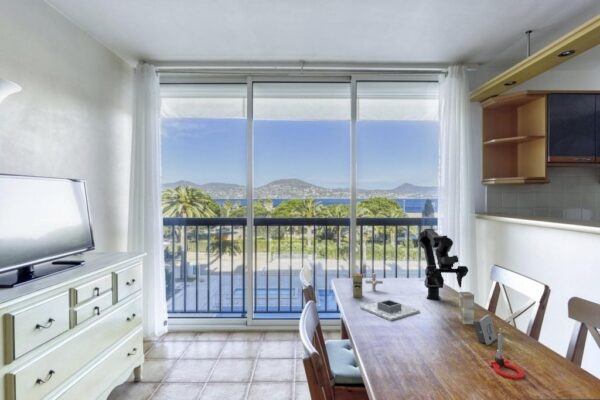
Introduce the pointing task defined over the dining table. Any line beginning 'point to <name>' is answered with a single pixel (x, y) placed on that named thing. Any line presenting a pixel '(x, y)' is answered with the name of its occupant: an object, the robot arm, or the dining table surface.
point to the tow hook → (504, 362)
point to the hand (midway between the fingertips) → (450, 286)
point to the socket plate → (389, 309)
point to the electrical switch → (485, 329)
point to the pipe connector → (373, 282)
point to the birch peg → (466, 307)
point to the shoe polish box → (357, 285)
